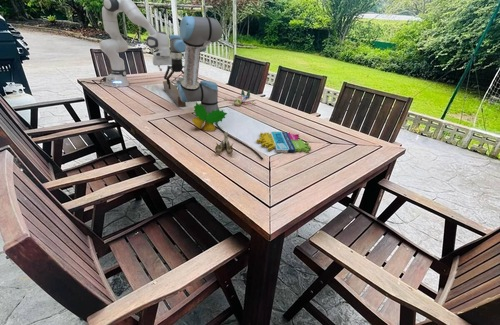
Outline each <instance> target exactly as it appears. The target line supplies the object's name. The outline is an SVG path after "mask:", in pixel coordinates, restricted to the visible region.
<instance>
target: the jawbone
mask: <svg viewBox="0 0 500 325" xmlns="http://www.w3.org/2000/svg"><path fill="white" fill-rule="evenodd" d="M224 132H225V133H223V135H224V136H223V140H222V139H221V142H220V144H218V142H215V144H216V146H215V148H214V149H215V152H214V154H215V155H217V156H218V155H220V153H221V152H223V151H224V150H226V152H227V153H228V155H229V156H233V155H234V154H233V153H234V148H233V144H234V143H230V140H228V139H229V138H228V137H229V136H228V134H229V133H228V131H224Z"/></svg>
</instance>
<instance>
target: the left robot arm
mask: <svg viewBox="0 0 500 325" xmlns="http://www.w3.org/2000/svg"><path fill="white" fill-rule="evenodd" d="M102 5H103V6H102V8H101V18H102V24H103V30H104V31H105V33H106V34H108V35H109V37H110V38H108V39H107V38H106V39H103V40H100V42H99V49H100V51H102V53H104V54H105V55H106V56H107V58H108V60H109V63H110V68H111V69H109V72H110V74H109V75H107V76H103V77H102V78H101V79H100V81H99V82H90V81H86V80H81V81H79V83H80V84H81V83H87V84H91V85H92V84H93V85H101V84H102V82H103V86H106V87H107V86H108V87H112V88H123V87H128V86H130V82H129V80H128V76H127V69H126V66H125V60H124V59H123V58H121V57H120V56H119V53H124V52H126V51H128V50H129V43H128V42H127V41H126V40H125V39H124V38H123V36H122V34H121V31H120V28H119V27H120V26H119V22H118V14H123V13H124V14H125V15H126V17H127V18H128V20H129V21H130V22H131V23H132V24H134V25H136V26H139V27H142V28H143V29H145V30H146V31H147V32H148V33H149V36H147V37H146V40H145V41H146V45H147V47H148V48H150V49H158V50H156V51H154V52H153V53H152V54H153V56H152V65H153V66H157V68H158V69H159V71H160V72H162V71H163V69H162V68H161V66H172V62H171V59H172V58H171V49H170V47H169V46H170V40H169V36H168V34H167V33H166V32H165V31H160V30H159V31H158V30H157V29H156V28H155V27H154V25H153V24H152V23H151V22H150V21H149V19H147V17H145V15H144V14H143V13H142V11H141V10H140V9H139V7H138V6H137V4H136V3H135V2H134V1H133V0H102ZM170 71H172V68H171V69H170Z"/></svg>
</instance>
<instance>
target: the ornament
mask: <svg viewBox="0 0 500 325" xmlns="http://www.w3.org/2000/svg"><path fill="white" fill-rule="evenodd" d="M219 110H220V108H219V109H217V110H216V111H214V110H212V112H211V113H208V112H206V109H204V106H201V103H198V101H197V102H195V105H194V106H193V112H194V113H195V118H192V119H191V122H192V123H193V125H195V127H197V128H198V129H202V130H203V131H206V132H212V131H213V132H214V131H215V130H216V126H215V124H216V123H217V124H218V123H219V122H223V119H226V115H227V114H228V113H227V112H224V110H223V109H221V110H220V111H219ZM207 113H208V115H207ZM214 123H215V124H214Z"/></svg>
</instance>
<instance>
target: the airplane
mask: <svg viewBox="0 0 500 325" xmlns="http://www.w3.org/2000/svg"><path fill="white" fill-rule="evenodd" d="M181 76H182V77H179V76H172V78H173V81H176V80H177V79H178V80H177V81H176V83H175V84H174V86H175V87H176V88H178V85H179V84H181V81H182V80H183V79H184V74H182V75H181ZM197 81H201V79H199V78H198V80H197Z"/></svg>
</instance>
